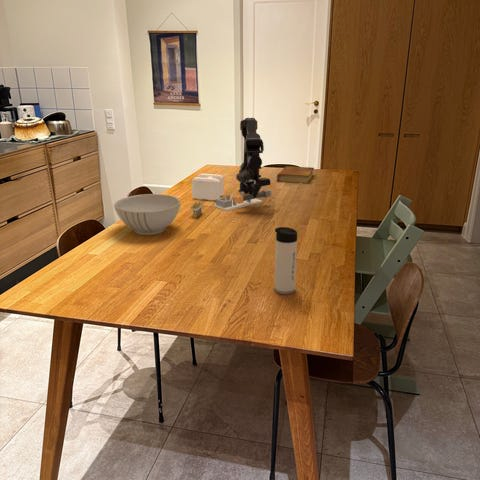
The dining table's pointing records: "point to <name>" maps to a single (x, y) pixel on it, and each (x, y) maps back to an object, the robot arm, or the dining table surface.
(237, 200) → the grey brown bar
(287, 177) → the diary
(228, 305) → the dining table surface
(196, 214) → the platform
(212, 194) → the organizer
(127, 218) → the decorative bowl
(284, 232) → the travel mug
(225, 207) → the board
